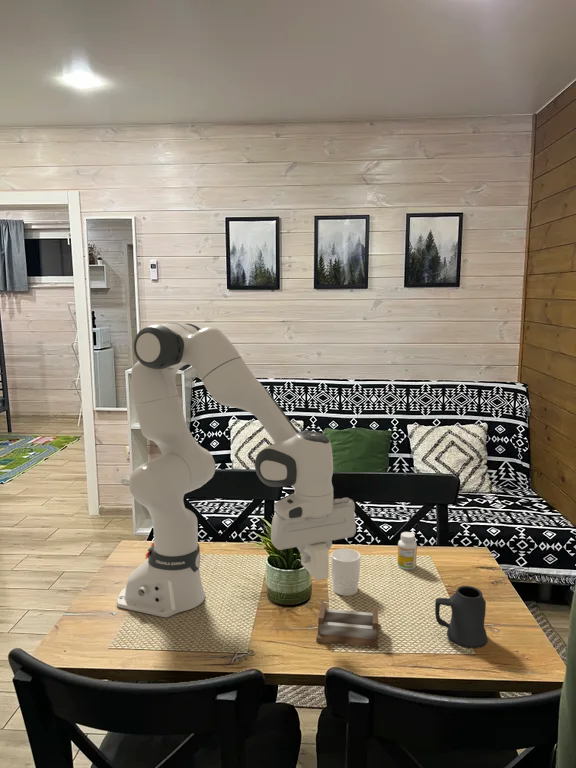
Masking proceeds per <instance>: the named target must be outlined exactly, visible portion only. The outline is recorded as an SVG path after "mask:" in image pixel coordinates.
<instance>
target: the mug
mask: <svg viewBox="0 0 576 768" xmlns="http://www.w3.org/2000/svg"><path fill="white" fill-rule="evenodd" d="M434 603H435V604H434V605H435V606H434V609H435V610H434V611H435V612H434V613H435V621H436V622H437V624H438V625H440V627H445V628H446V629H447V631H446V636H447V638H448V639H449V641H451V642H452V643H453V644H455V645H456V646H459V647H462V648H467V649H478V648H483V647H484V646H486V644H487V643H488V636H487V631H486V628H485V619H486V618H485V617H486V609H487V608H486V607H487V600H486V599H485V598H484V596H483V592H482V591H481V590H480V588H477V587H475V586H471V585H461V586H458V587H457V588H456V590H455V593H453V594H452V595H451V596H450V597H439V598H437V597H436V598H435V602H434ZM441 606H446V607H450V609H451V617H450V622H449V623H448V622H447V621H445V620H444V619H442V618H441V616H440V610H441V609H440V608H441Z"/></svg>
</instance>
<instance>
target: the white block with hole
mask: <svg viewBox="0 0 576 768" xmlns="http://www.w3.org/2000/svg"><path fill="white" fill-rule="evenodd" d="M324 544H325V543H324V542H321V543H316V544H310V545H306V549H305V550H304V549H303V550H304V552H305V553H306V552H307V553H308V554H309V555H310V562H307V563H303V562H302V559H301V558H300V564H301V566H302V567H304V568H305V569H306V571H307V572H308V573H309V574H310V575H311V576H312V577H313V578H314V580H316V581H321V580H325V579H329V577H330V575H329V574H330V571H329V569H330V567H329V566H330V565H329V563H330V562H329V561H330V558H329V556H330V555H329V553H330V552H329V551H330V549H329V548H327V547H326V546H325V545H324Z"/></svg>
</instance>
